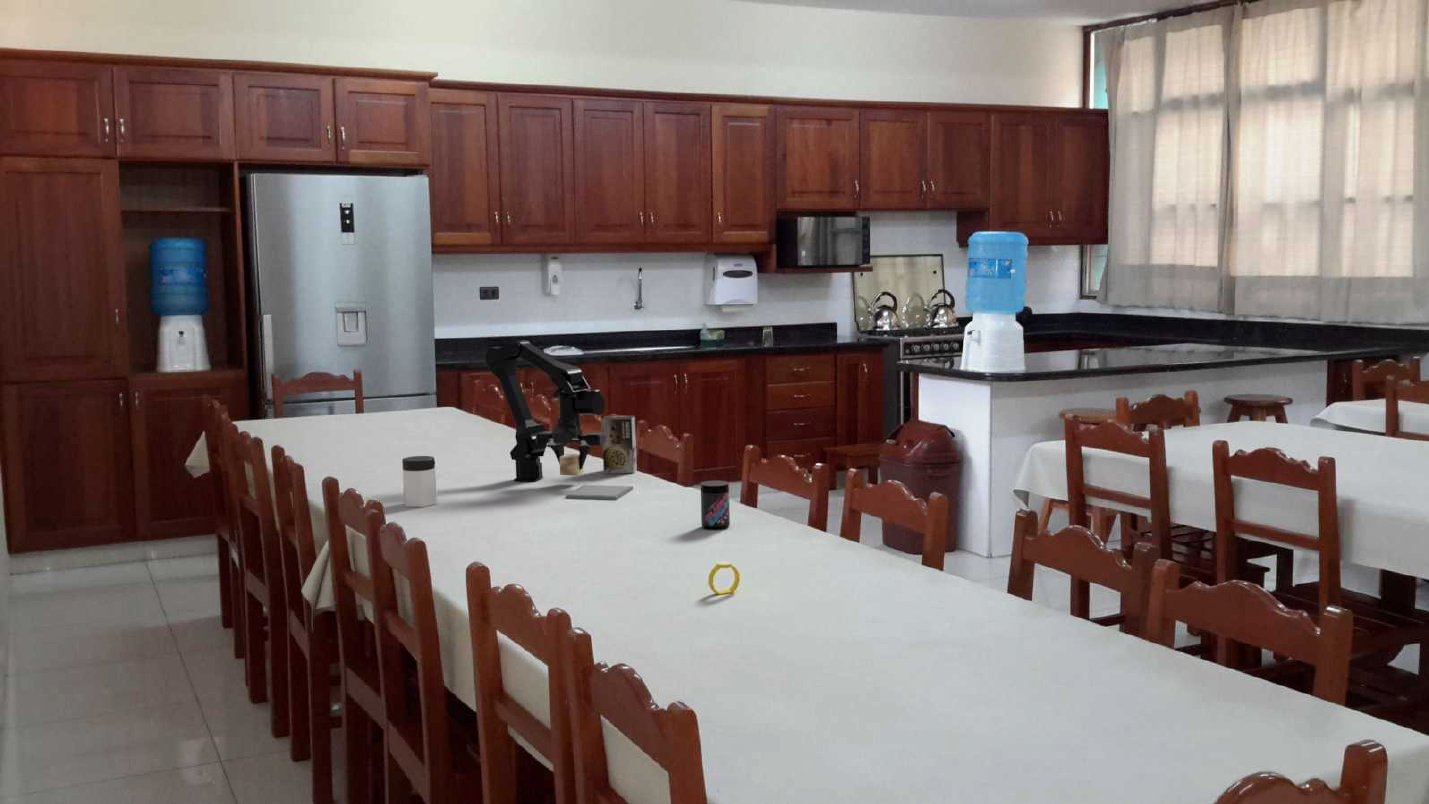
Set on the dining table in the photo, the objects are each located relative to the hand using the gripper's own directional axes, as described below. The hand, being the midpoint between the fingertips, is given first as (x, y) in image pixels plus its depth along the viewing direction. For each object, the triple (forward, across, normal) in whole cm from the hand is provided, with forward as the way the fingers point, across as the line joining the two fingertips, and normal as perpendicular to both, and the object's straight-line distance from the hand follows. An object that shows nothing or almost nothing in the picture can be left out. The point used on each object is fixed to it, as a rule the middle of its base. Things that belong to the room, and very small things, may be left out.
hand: (571, 469), depth 345 cm
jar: (+5, -30, -31) cm, 43 cm away
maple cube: (+1, 0, 0) cm, 1 cm away
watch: (+5, +67, -97) cm, 118 cm away
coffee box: (+5, +7, +21) cm, 23 cm away
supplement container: (+4, +52, -44) cm, 68 cm away
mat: (+4, +12, -11) cm, 17 cm away
